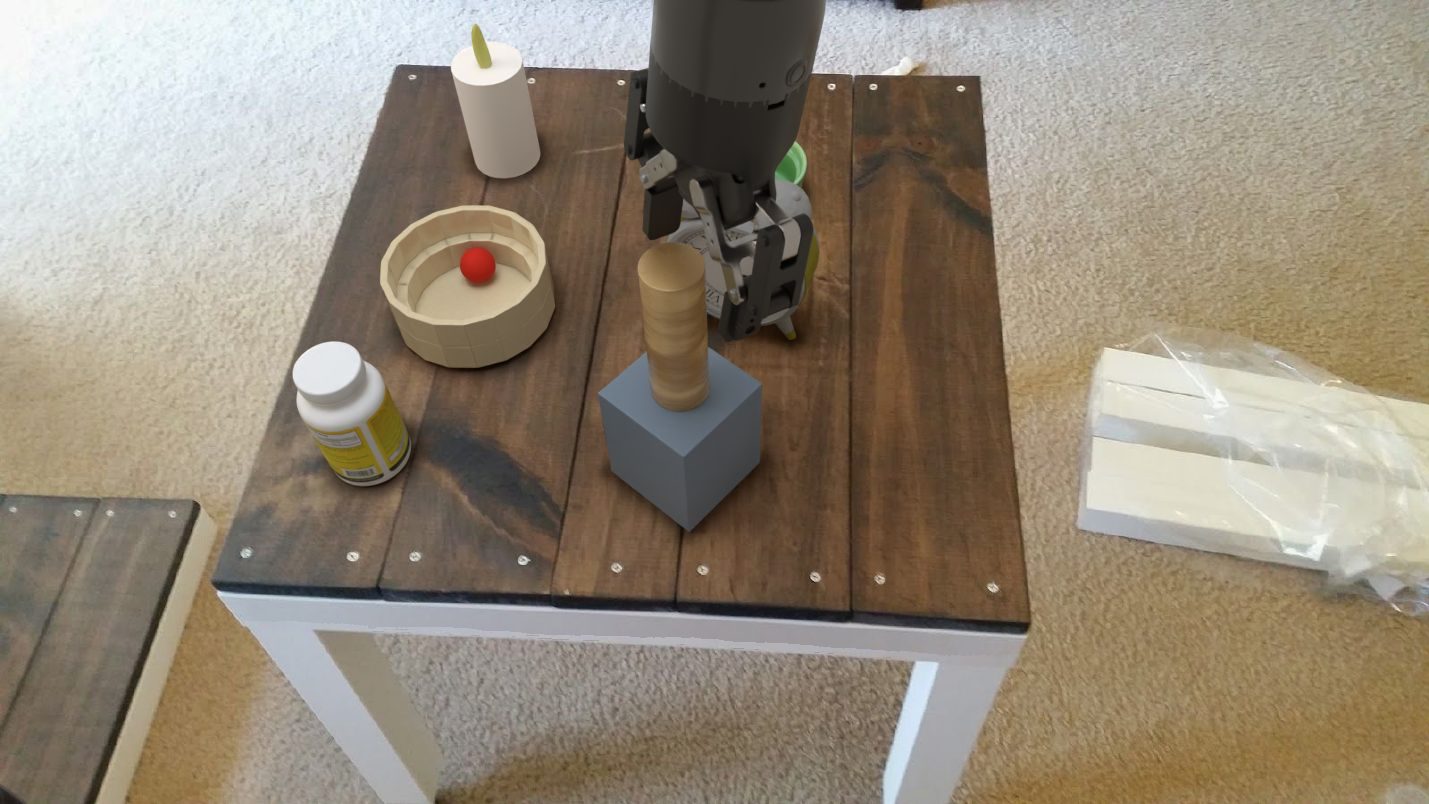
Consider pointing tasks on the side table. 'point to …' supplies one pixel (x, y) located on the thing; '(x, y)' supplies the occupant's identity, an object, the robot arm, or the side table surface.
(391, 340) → the side table surface
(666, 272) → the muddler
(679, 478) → the upright slate-blue block
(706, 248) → the alarm clock
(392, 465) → the pill bottle
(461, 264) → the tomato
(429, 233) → the bowl
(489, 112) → the candle
